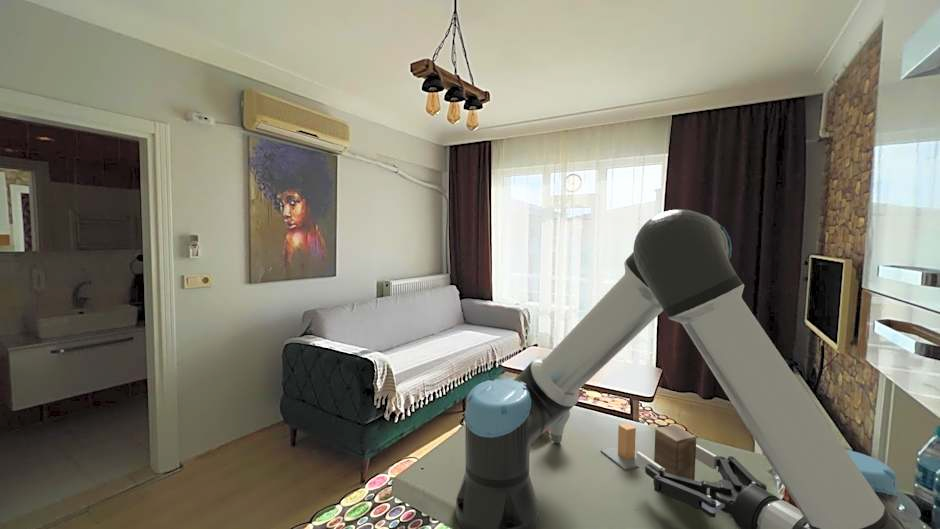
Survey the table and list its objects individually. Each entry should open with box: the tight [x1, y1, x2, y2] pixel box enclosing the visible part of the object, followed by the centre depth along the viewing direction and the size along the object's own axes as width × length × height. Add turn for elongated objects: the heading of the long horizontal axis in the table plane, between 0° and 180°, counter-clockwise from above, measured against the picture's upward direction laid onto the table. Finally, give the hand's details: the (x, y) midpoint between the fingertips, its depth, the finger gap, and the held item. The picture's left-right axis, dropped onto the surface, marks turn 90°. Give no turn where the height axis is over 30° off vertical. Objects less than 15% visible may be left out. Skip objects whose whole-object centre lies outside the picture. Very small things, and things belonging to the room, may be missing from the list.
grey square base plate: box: [600, 422, 640, 471], centre depth 90 cm, size 8×8×7 cm
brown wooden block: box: [653, 424, 697, 484], centre depth 78 cm, size 5×5×12 cm
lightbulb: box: [549, 409, 571, 444], centre depth 96 cm, size 6×6×11 cm
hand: (662, 452), depth 81 cm, fingers open, 13 cm apart
